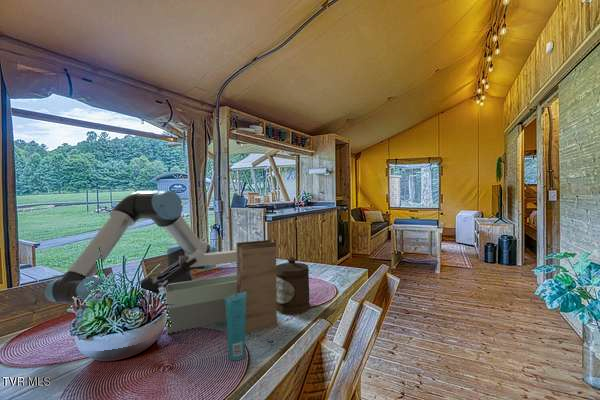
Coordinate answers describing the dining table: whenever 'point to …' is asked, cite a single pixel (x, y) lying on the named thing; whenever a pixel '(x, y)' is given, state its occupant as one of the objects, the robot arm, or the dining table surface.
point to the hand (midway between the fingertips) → (202, 252)
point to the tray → (199, 302)
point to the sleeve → (212, 258)
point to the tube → (236, 324)
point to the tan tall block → (258, 283)
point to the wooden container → (292, 287)
